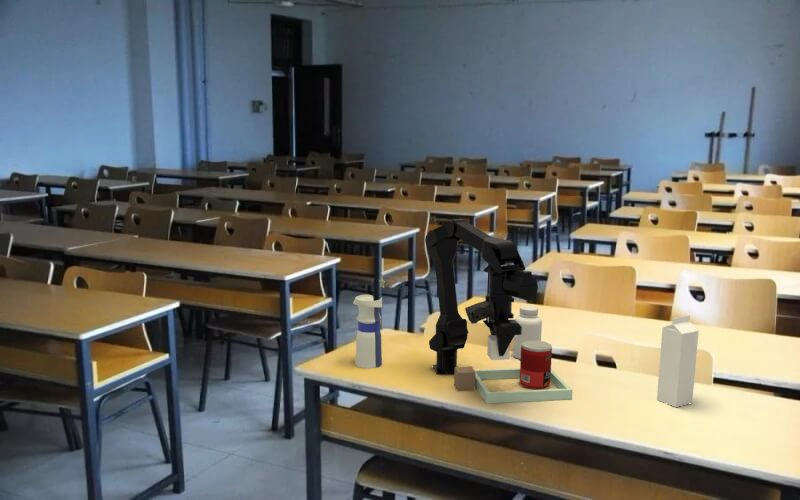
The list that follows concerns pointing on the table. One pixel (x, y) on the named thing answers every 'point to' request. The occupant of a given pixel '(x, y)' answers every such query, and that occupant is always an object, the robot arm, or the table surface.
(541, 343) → the canned food
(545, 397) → the mint green rectangular frame
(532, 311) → the pill bottle
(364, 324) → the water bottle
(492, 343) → the white block
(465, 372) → the brown carton
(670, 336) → the milk
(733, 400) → the table surface
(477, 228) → the robot arm
